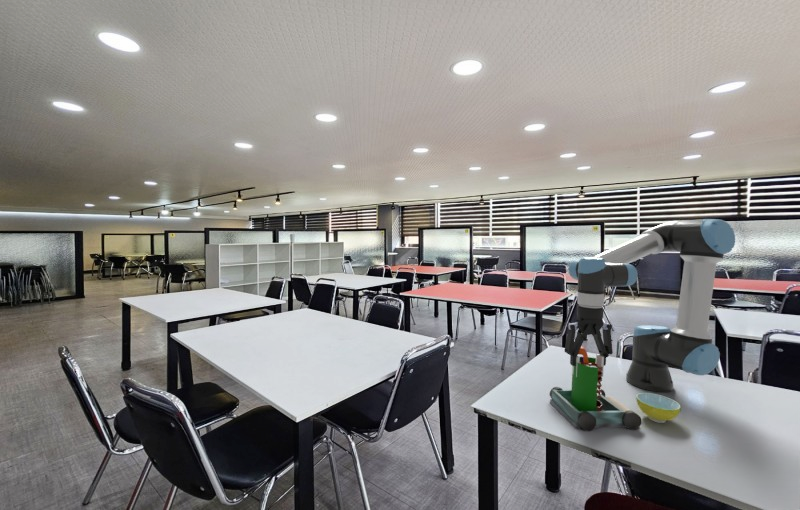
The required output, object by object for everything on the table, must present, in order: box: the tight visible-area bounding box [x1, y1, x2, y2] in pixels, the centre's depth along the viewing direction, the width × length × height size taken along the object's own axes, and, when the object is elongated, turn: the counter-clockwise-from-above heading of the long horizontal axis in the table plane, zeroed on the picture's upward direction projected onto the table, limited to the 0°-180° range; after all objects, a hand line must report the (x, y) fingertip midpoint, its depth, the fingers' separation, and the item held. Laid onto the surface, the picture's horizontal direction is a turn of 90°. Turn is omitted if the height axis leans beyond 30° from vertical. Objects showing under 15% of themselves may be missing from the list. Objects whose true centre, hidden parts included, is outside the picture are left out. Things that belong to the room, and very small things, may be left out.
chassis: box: [549, 386, 642, 432], centre depth 114 cm, size 20×19×5 cm
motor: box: [571, 346, 604, 411], centre depth 113 cm, size 10×9×20 cm
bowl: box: [635, 392, 681, 424], centre depth 111 cm, size 11×12×6 cm
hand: (587, 375), depth 113 cm, fingers closed on motor, 7 cm apart
